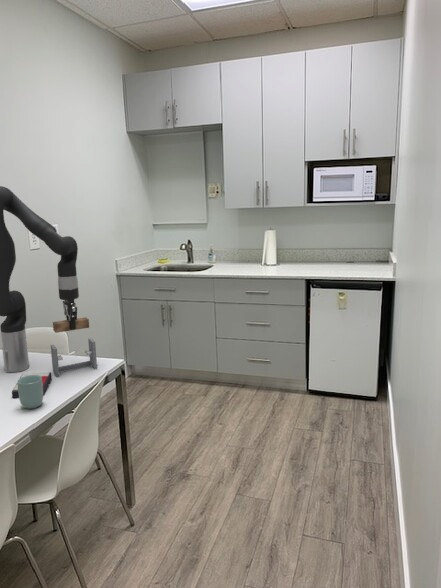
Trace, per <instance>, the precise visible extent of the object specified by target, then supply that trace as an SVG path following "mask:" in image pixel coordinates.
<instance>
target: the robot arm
mask: <svg viewBox="0 0 441 588" xmlns="http://www.w3.org/2000/svg"><path fill="white" fill-rule="evenodd" d="M4 211H5V212H8V213H10V214H11V215H13V216H14V217H16V218H17V219H18V220H19V221H20V222H21V223H22V224H23V226H24V227H25V228H26V229H27V230H28V231H29V232H30V233H31V234H32V235H34V237H37V238H38V239H39V240H41V241H43V243H45V245H46V246H47V248H49V249H50V250H51V251H52V252H53V253H54V254H56V255H58V256H60V259H59V262H58V263H57V267H56V268H57V277H58V278H57V287H58V298H59V300H62V308H63V312H64V313H63V314H64V316H65V318H66V320H69V323H70V329H71V331H74V330H73V329H76V324H75V320H77V319H78V307H77V304H76V302H75V300H77V299H79V297H80V293H79V281H78V276H77V259H78V252H79V251H78V250H79V249H78V247H79V246H78V243H77V241H76V239H75V238H74V237H72V236H69V235H67V236H62V235H60V234H59V233H58V231H57V229H56V227H55V226H54V225H52V224H51V223H49V222H48V221H47V220H46V219H44V218H42V217H41V216H40V215H38V214H37V213H35V212H34V211H33V210H32V209H31V208H30V207H28V206H27V204H26V203H24V202H23V201H22V200H21V199H20V198H19V197H18V196H17V195H16V194H15V193H14V192H13V191H12V190H10V189H9V188H8V187H6V186H2V185H0V317H5V319H4V321H2V322H1V324H0V334H1V335H0V336H1V343H2V347H1V348H2V355H3V356H2V357H3V358H2V359H3V365H4V370H5V373H18V372H23V371H26V370H28V369H29V368H30V361H29V351H28V342H27V333H26V323H27V308H26V307H27V305H26V300H25V297H24V295H23V293H22V292H20V291H18V290H11V289H10V280H11V277H12V274H13V272H14V271H13V270H14V268H15V267H16V266H15V265H16V262H17V257H16V256H17V255H16V246H15V242H14V240H13V238H12V235H11V233H10V232H9V229H8V228H7V225H6V223H5V216H4V214H5V213H4Z"/></svg>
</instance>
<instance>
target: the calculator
mask: <svg viewBox="0 0 441 588" xmlns="http://www.w3.org/2000/svg"><path fill="white" fill-rule="evenodd" d="M28 375H39V376H41V377H42V381H43V397H44V396H45V395H46V393H47V391H48V388H49V386H50V384H51V383H52V380H53V378H52V377H53V376H52V372H51V371H41V372H40V371H39V372H27V373H22V374H21V375H20V377H19V379H20V378H22V377H24V376H28ZM11 396H12V397H11V398H12V399H19V394H18V386H17V383H15V385H14V387H13V389H12V391H11Z"/></svg>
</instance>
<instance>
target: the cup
mask: <svg viewBox="0 0 441 588" xmlns="http://www.w3.org/2000/svg"><path fill="white" fill-rule="evenodd" d="M16 384H17V386H18V394H19V398H18V399H19V402H20V404H21V406H22V407H23V408H25V409H35V408H38V407H39V406H41V404H42V403H43V401H44V396H43V381H42V377H41V376H39V375H28V376H24V377H22V378H20V377H19V378H18V379H17V381H16Z"/></svg>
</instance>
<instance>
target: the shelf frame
mask: <svg viewBox="0 0 441 588" xmlns="http://www.w3.org/2000/svg"><path fill="white" fill-rule="evenodd" d="M87 341H88V349H86V350H84V353H85V354H86V355H87V356H89V360H87V361H80V362H77V363H70V364H66V365H61V366H59V361H63V356H62V355H60V354H58V348H57V347H56V345H54V344H50V356H51V365H52V373H53V375H54V376H55V378H60V373H62V372H68V371H71V370H77V369H82V368H86V367H92V369H93V370H97V369H98V364H97V363H98V362H97V348H96V347H97V346H96V341H95V340H94V339H93V338H92V337H90V338H88V339H87Z"/></svg>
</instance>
